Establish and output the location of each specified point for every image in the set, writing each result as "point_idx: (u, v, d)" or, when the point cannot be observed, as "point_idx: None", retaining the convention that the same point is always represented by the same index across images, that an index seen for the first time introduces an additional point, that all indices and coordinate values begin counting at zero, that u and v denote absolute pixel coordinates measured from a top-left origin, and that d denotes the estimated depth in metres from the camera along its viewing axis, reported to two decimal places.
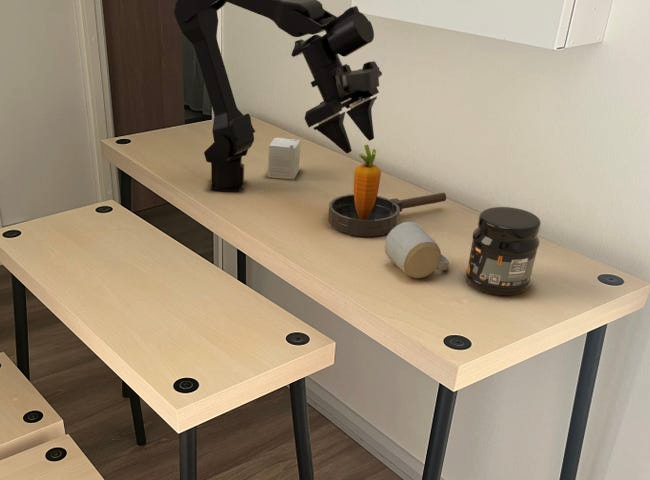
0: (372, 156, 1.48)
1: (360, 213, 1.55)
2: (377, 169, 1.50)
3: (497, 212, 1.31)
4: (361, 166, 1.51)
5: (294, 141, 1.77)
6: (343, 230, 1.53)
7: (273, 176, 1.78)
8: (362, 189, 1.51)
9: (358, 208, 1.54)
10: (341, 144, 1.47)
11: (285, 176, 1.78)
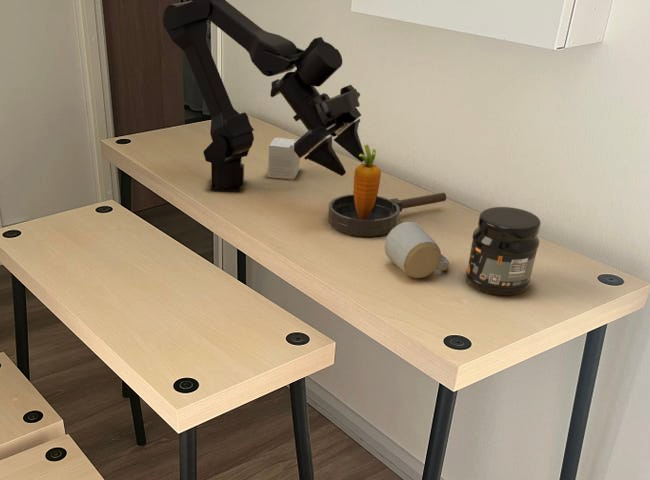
0: (372, 156, 1.48)
1: (360, 213, 1.55)
2: (377, 169, 1.50)
3: (497, 212, 1.31)
4: (361, 166, 1.51)
5: (294, 141, 1.77)
6: (343, 230, 1.53)
7: (273, 176, 1.78)
8: (362, 189, 1.51)
9: (358, 208, 1.54)
10: (334, 168, 1.49)
11: (285, 176, 1.78)
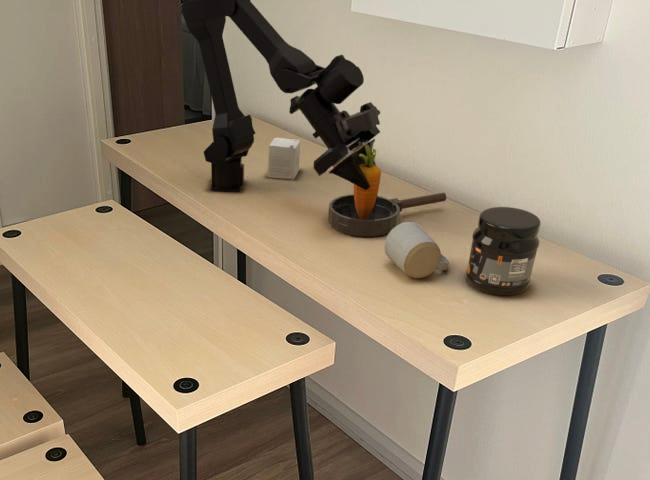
0: (372, 156, 1.48)
1: (360, 213, 1.55)
2: (377, 169, 1.50)
3: (497, 212, 1.31)
4: (361, 166, 1.51)
5: (294, 141, 1.77)
6: (343, 230, 1.53)
7: (273, 176, 1.78)
8: (362, 189, 1.51)
9: (358, 208, 1.54)
10: (359, 182, 1.50)
11: (285, 176, 1.78)
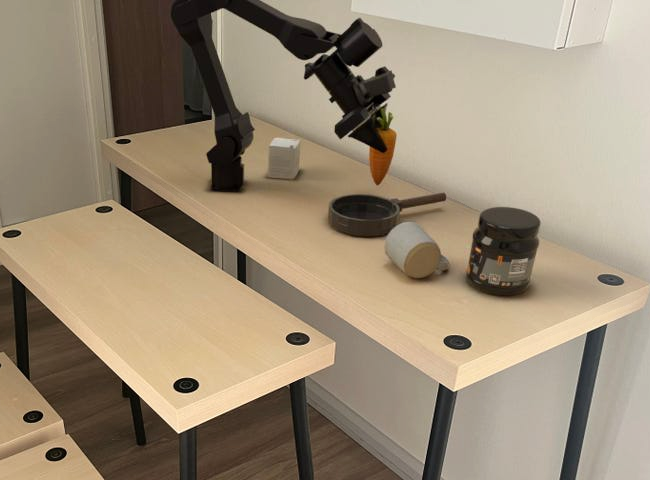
0: (390, 119, 1.51)
1: (376, 176, 1.58)
2: (393, 132, 1.53)
3: (497, 212, 1.31)
4: (377, 129, 1.54)
5: (294, 141, 1.77)
6: (343, 230, 1.53)
7: (273, 176, 1.78)
8: (379, 153, 1.54)
9: (374, 171, 1.57)
10: (377, 145, 1.53)
11: (285, 176, 1.78)
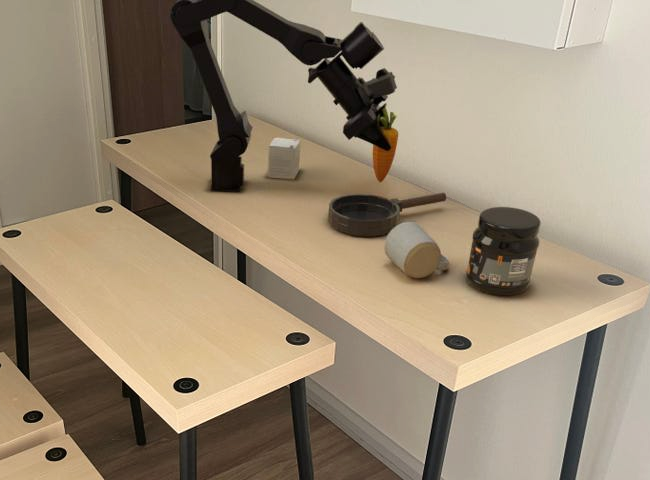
0: (393, 118, 1.58)
1: (379, 174, 1.65)
2: (396, 131, 1.60)
3: (497, 212, 1.31)
4: None
5: (294, 141, 1.77)
6: (343, 230, 1.53)
7: (273, 176, 1.78)
8: (383, 151, 1.61)
9: (378, 169, 1.64)
10: (381, 144, 1.59)
11: (285, 176, 1.78)
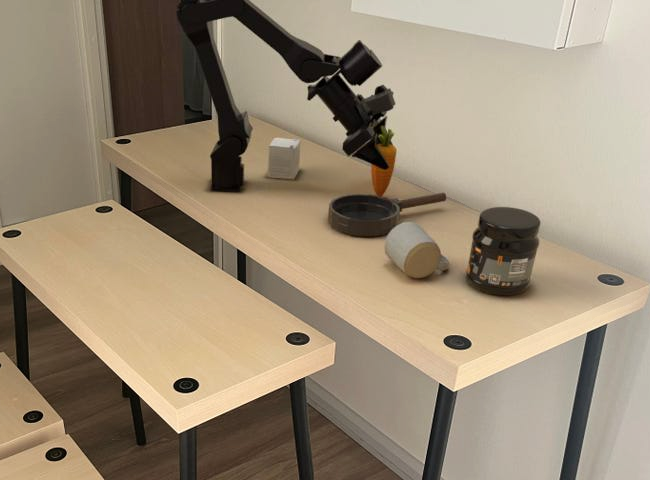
0: (391, 136, 1.60)
1: (378, 190, 1.66)
2: (394, 147, 1.62)
3: (497, 212, 1.31)
4: (379, 146, 1.62)
5: (294, 141, 1.77)
6: (343, 230, 1.53)
7: (273, 176, 1.78)
8: None
9: (377, 185, 1.66)
10: (379, 163, 1.59)
11: (285, 176, 1.78)
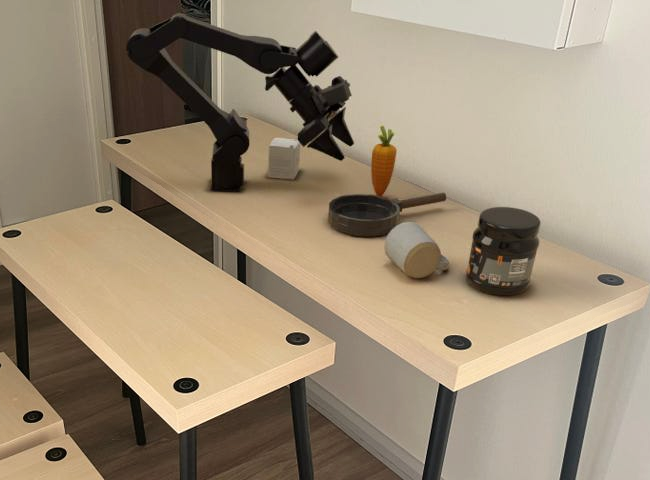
0: (391, 136, 1.60)
1: (378, 190, 1.66)
2: (394, 147, 1.62)
3: (497, 212, 1.31)
4: (379, 146, 1.62)
5: (294, 141, 1.77)
6: (343, 230, 1.53)
7: (273, 176, 1.78)
8: (381, 167, 1.63)
9: (377, 185, 1.66)
10: (334, 154, 1.61)
11: (285, 176, 1.78)
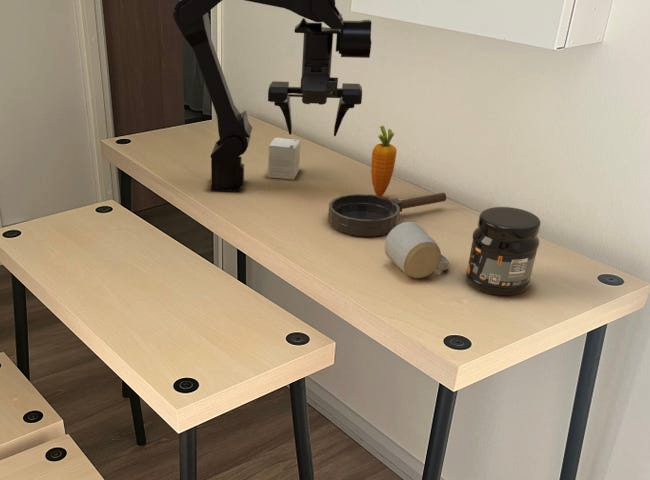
0: (391, 136, 1.60)
1: (378, 190, 1.66)
2: (394, 147, 1.62)
3: (497, 212, 1.31)
4: (379, 146, 1.62)
5: (294, 141, 1.77)
6: (343, 230, 1.53)
7: (273, 176, 1.78)
8: (381, 168, 1.63)
9: (377, 185, 1.66)
10: None
11: (285, 176, 1.78)
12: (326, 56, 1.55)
